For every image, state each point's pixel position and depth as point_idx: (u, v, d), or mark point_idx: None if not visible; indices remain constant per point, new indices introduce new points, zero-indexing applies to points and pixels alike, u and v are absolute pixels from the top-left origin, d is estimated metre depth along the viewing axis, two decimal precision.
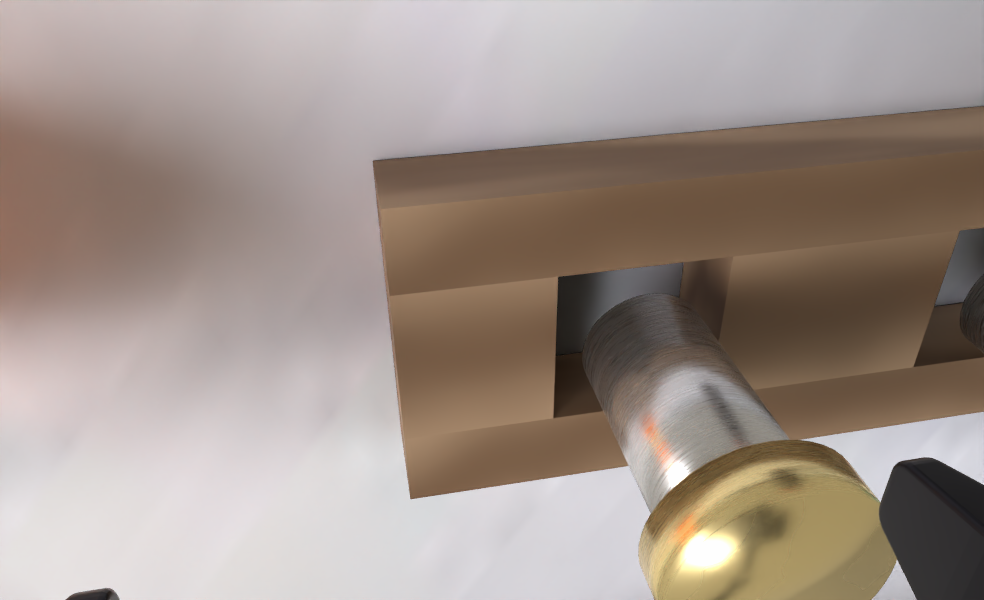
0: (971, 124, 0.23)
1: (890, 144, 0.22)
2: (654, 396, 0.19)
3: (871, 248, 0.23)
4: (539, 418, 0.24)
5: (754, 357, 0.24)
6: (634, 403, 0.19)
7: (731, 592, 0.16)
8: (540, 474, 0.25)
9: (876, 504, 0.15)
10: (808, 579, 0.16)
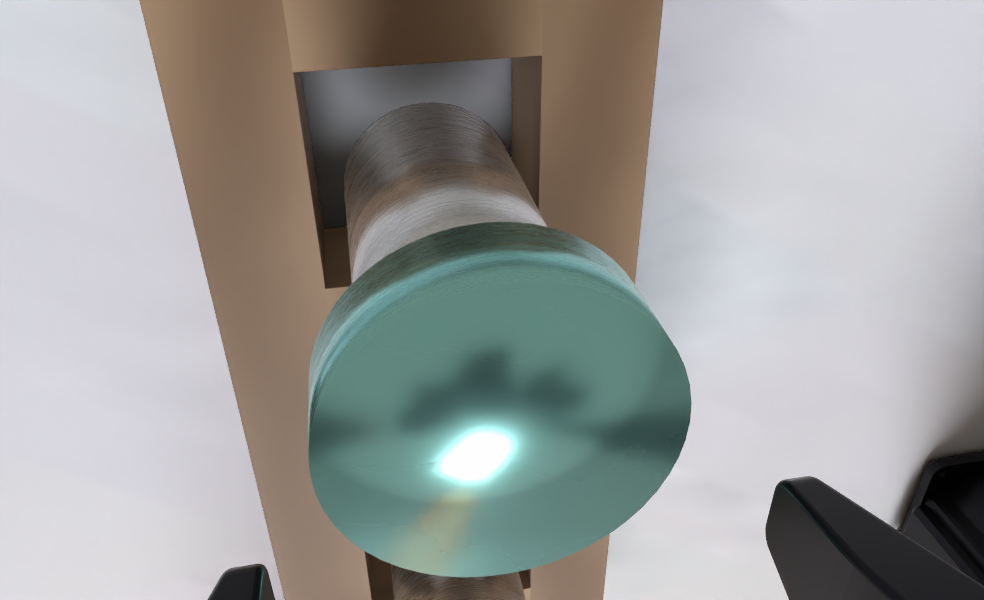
0: None
1: None
2: None
3: None
4: (529, 593, 0.26)
5: None
6: None
7: None
8: (598, 583, 0.26)
9: None
10: None
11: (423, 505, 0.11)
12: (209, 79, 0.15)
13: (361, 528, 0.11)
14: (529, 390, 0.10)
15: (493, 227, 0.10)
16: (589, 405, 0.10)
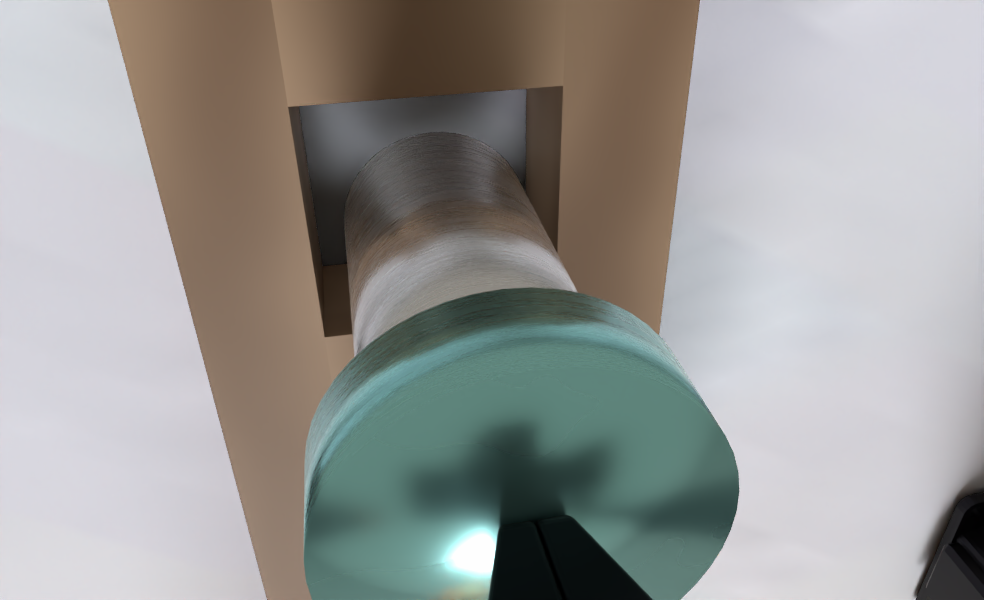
0: None
1: None
2: None
3: None
4: None
5: None
6: None
7: None
8: None
9: None
10: None
11: None
12: (195, 115, 0.14)
13: None
14: (557, 483, 0.09)
15: (514, 295, 0.09)
16: (624, 496, 0.09)
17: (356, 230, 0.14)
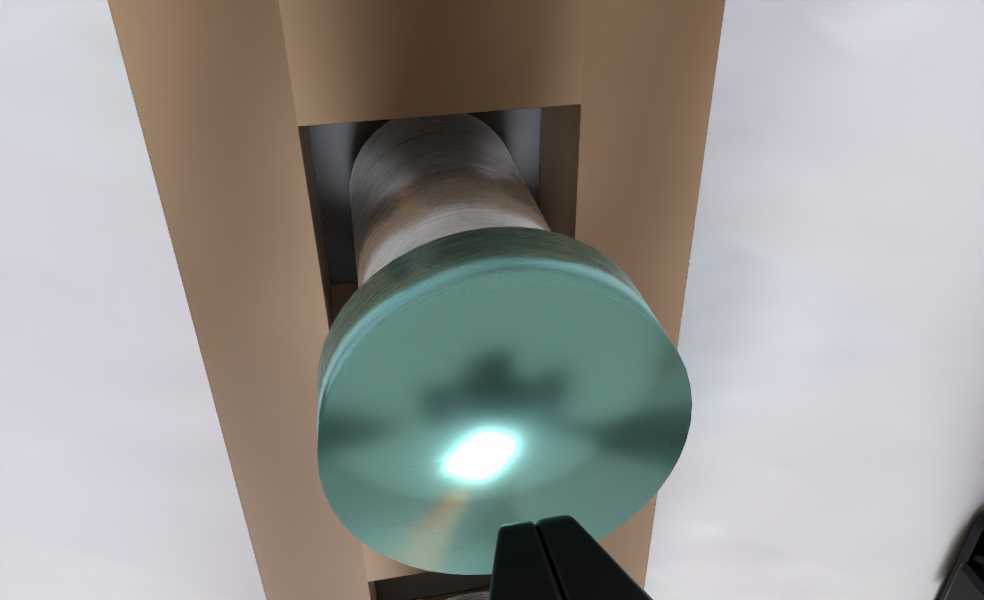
0: None
1: None
2: None
3: None
4: None
5: None
6: None
7: None
8: None
9: None
10: None
11: (429, 503, 0.11)
12: (202, 135, 0.13)
13: (369, 526, 0.11)
14: (533, 391, 0.10)
15: (497, 232, 0.10)
16: (592, 405, 0.10)
17: (361, 194, 0.15)
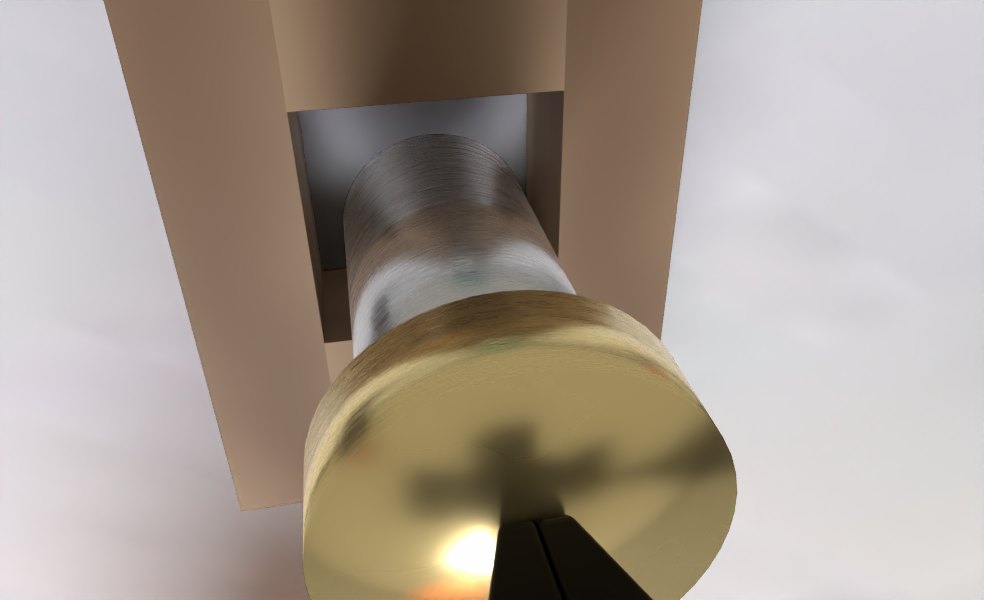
0: None
1: None
2: None
3: None
4: None
5: (494, 24, 0.14)
6: None
7: None
8: (654, 316, 0.18)
9: (338, 473, 0.08)
10: (529, 511, 0.09)
11: None
12: None
13: None
14: None
15: None
16: None
17: None
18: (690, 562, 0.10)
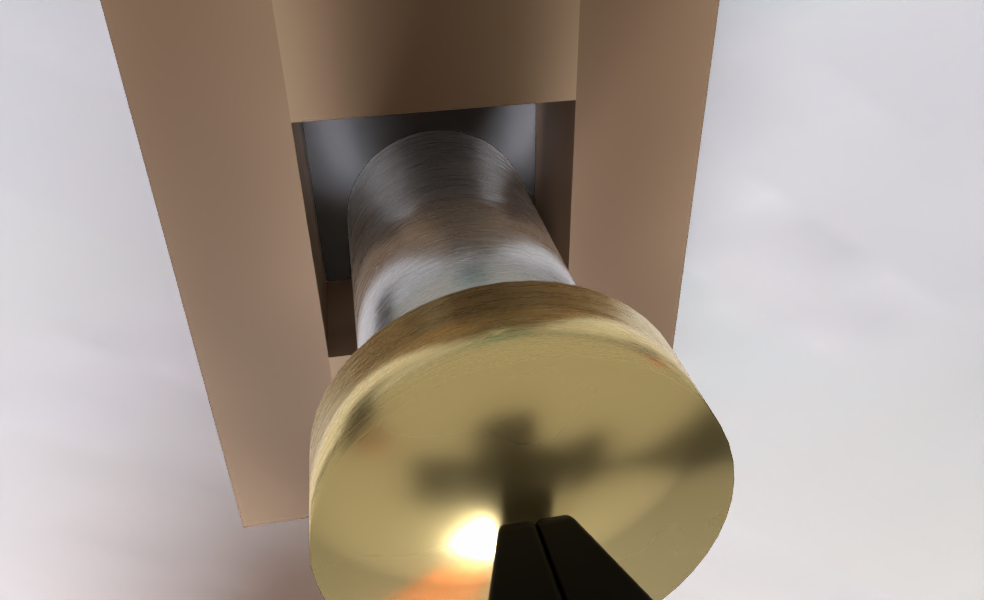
0: None
1: None
2: None
3: None
4: None
5: (505, 32, 0.13)
6: None
7: None
8: (666, 329, 0.18)
9: (345, 458, 0.08)
10: (530, 497, 0.09)
11: None
12: None
13: None
14: None
15: None
16: None
17: None
18: (688, 549, 0.10)
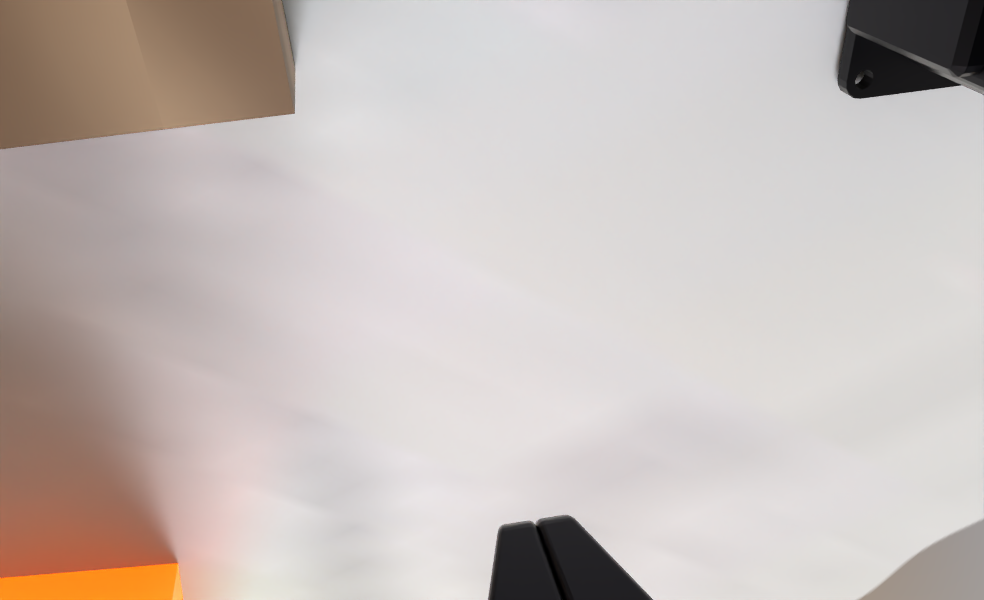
0: None
1: None
2: None
3: None
4: None
5: None
6: None
7: None
8: None
9: None
10: None
11: None
12: None
13: None
14: None
15: None
16: None
17: None
18: None
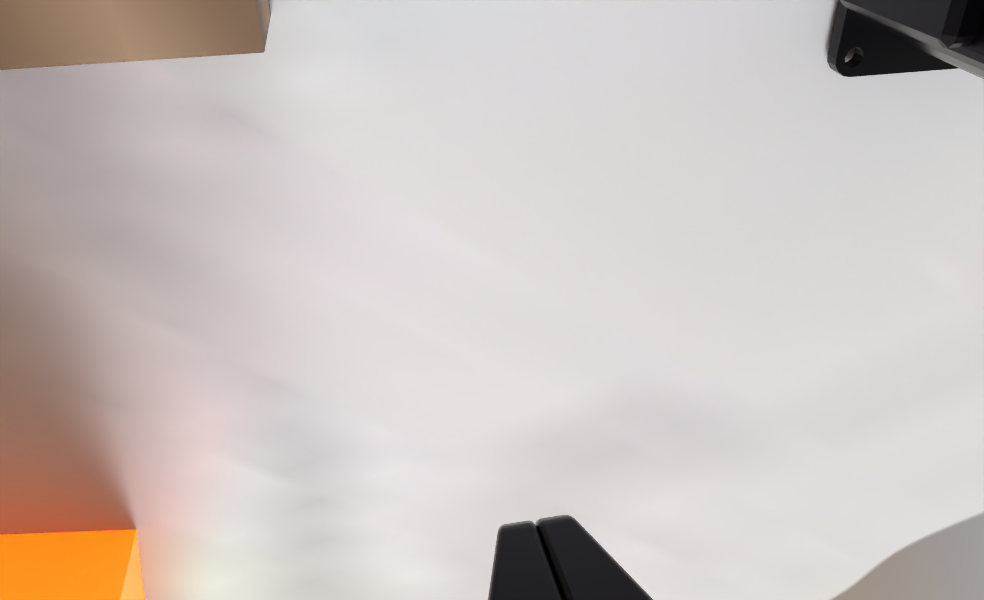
0: None
1: None
2: None
3: None
4: None
5: None
6: None
7: None
8: None
9: None
10: None
11: None
12: None
13: None
14: None
15: None
16: None
17: None
18: None
